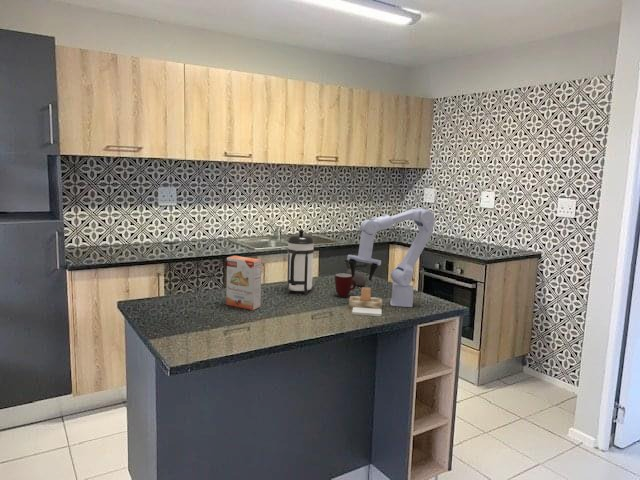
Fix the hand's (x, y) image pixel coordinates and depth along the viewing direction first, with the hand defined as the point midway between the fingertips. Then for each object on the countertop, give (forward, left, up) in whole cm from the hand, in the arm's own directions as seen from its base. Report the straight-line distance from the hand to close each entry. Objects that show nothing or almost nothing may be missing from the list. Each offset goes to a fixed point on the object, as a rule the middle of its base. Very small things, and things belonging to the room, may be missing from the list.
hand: (361, 278), depth 206 cm
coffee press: (+30, -16, -13) cm, 36 cm away
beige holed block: (-2, 0, -12) cm, 13 cm away
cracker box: (+49, +13, -13) cm, 52 cm away
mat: (-3, +10, -12) cm, 16 cm away
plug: (-2, 0, -12) cm, 13 cm away
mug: (+8, -15, -13) cm, 21 cm away
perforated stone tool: (+4, -39, -13) cm, 41 cm away
